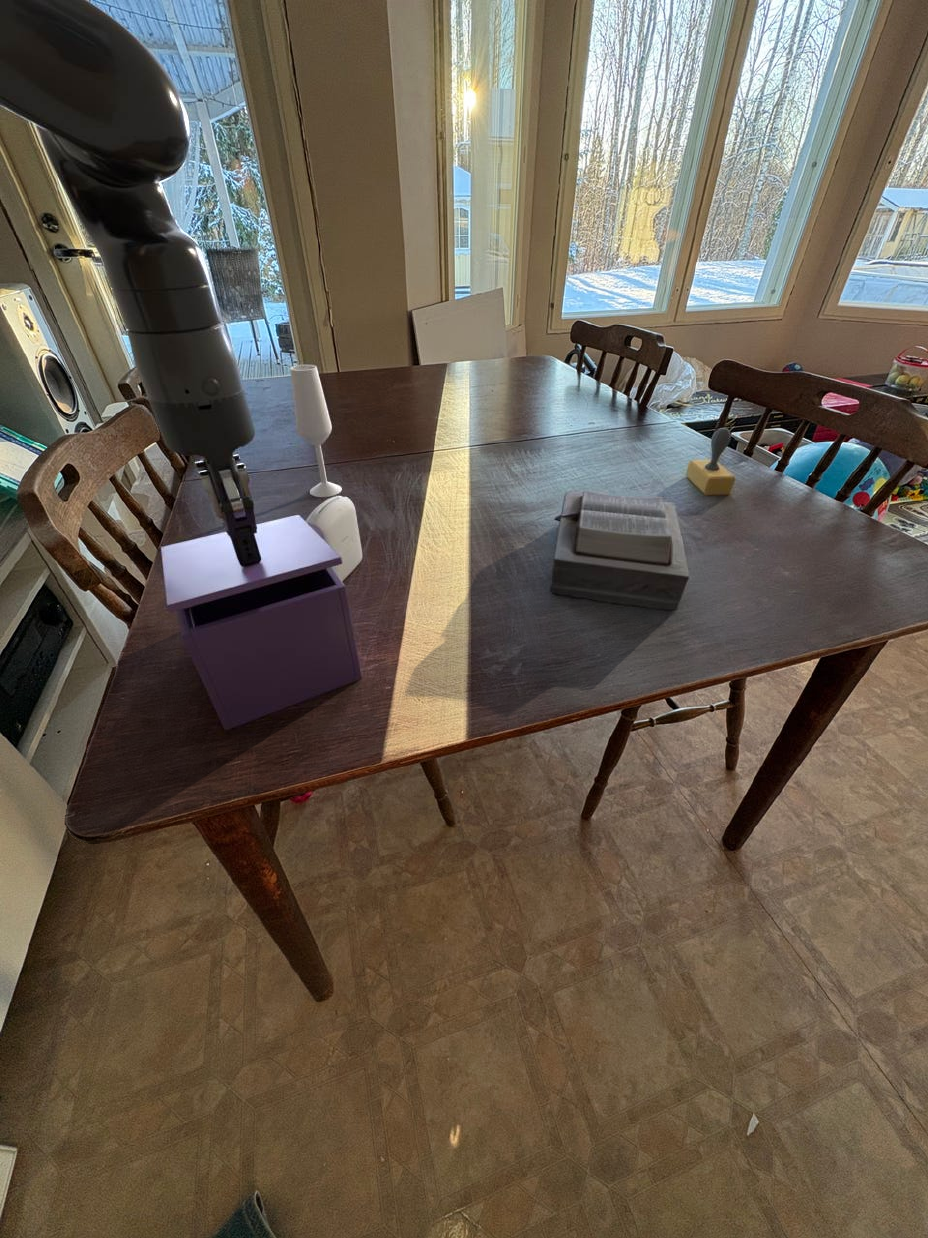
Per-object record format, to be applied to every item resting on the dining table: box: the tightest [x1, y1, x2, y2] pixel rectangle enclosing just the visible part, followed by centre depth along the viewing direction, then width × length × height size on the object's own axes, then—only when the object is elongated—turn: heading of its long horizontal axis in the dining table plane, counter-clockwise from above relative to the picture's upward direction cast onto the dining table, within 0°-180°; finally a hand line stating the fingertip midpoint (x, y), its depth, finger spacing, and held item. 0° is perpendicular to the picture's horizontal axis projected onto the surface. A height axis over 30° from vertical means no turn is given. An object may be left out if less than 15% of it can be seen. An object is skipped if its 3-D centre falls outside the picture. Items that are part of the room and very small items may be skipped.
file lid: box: [160, 514, 342, 614], centre depth 57 cm, size 18×17×1 cm
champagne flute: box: [289, 364, 343, 498], centre depth 101 cm, size 7×7×24 cm
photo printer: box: [305, 495, 363, 582], centre depth 80 cm, size 10×4×12 cm, turn 160°
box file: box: [175, 567, 363, 731], centre depth 63 cm, size 18×17×14 cm
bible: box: [549, 489, 690, 611], centre depth 83 cm, size 23×27×10 cm
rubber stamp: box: [685, 427, 736, 496], centre depth 106 cm, size 10×6×12 cm, turn 4°
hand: (250, 561), depth 54 cm, fingers closed
